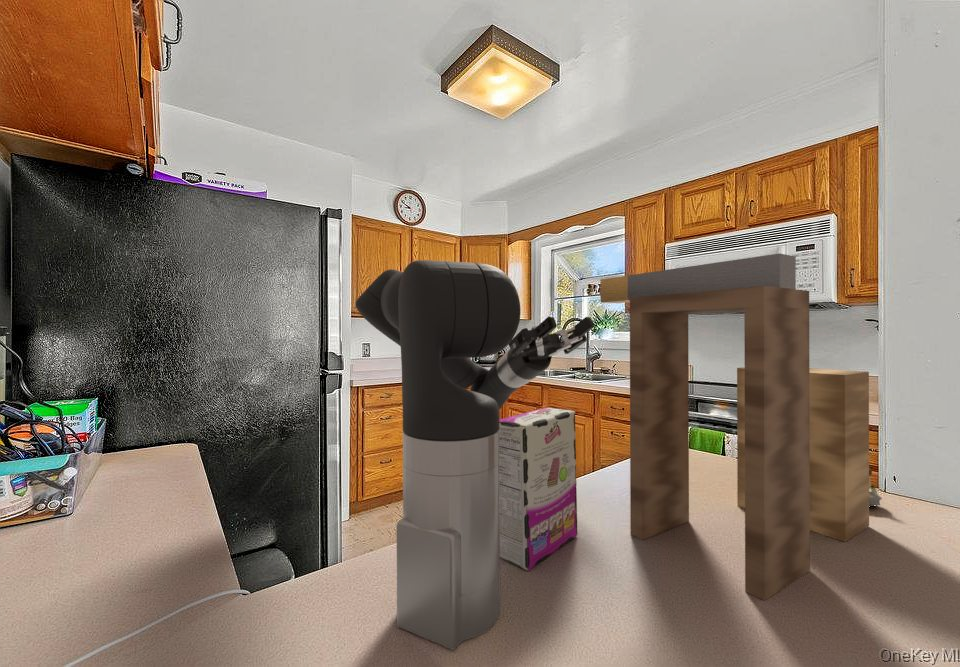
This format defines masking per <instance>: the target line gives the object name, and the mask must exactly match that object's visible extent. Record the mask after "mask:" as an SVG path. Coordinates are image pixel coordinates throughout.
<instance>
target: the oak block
mask: <svg viewBox="0 0 960 667" xmlns="http://www.w3.org/2000/svg"><path fill="white" fill-rule="evenodd" d="M869 378H870V372H869V371H862V370H861V371H860V370H843V369H831V368H830V369H828V368H813V367H812V368H810V367H809V389H810V532H811V531H812V532H815V533H817V534H820V535H823V536H827V537H829V538H832V539H835V540H838V541H841V542H844V543H847V542H848V541H849V540H851V539H852V538H854V537H855V536H857V535H859V534H860V533H862V532H863V531H864V529H865V528H866V527H868V526H869V527H870V508H869V491H870V489H869V469H870V379H869ZM736 397H737V398H736V402H737V403H736V411H737V412H736V416H737V417H736V418H737V419H736V422H737V424H736V425H737V426H736V428H737V430H736V431H737V432H736V435H737V436H736V437H737V441H736V442H737V443H736V444H737V445H736V446H737V448H736V449H737V451H736V452H737V456H736V458H737V460H736V461H737V468H736V474H737V476H736V477H737V478H736V479H737V482H736V483H737V484H736V486H737V488H736V489H737V497H736V498H737V501H736V502H737V503H736V504H737V507H740V508H743V509H745V366H743V367H736ZM869 527H868V528H869ZM866 529H867V528H866ZM866 529H865V530H866Z"/></svg>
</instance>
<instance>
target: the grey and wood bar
mask: <svg viewBox="0 0 960 667" xmlns="http://www.w3.org/2000/svg"><path fill="white" fill-rule="evenodd" d="M796 266H797V265H796V256H795V255H790V254H784V253H773V254H768V255H767V254H766V255H760V256H754V257H753V256H752V257H746V258H745V257H744V258H737V259H731V260H725V261H718V262H712V263H711V262H710V263H704V264H696V265H690V266H685V267H684V266H683V267H675V268H671V269H663V270H656V271H655V270H654V271H650V272H649V271H648V272H642V273H633V274H627V275H622V276H621V275H620V276H616V277H615V276H614V277H608V278H601V279H600V303H602V304H603V303H604V304H622V303H623V304H625V303H630V298H633V297H644V296H655V295H667V294H678V293H689V292H701V291H712V290H723V289H734V288H746V287H757V286H769V287H779V288H788V289H797V288H796V285H797V283H796V281H797V280H796V278H797V277H796V275H797V274H796V273H797V272H796V268H797V267H796Z"/></svg>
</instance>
